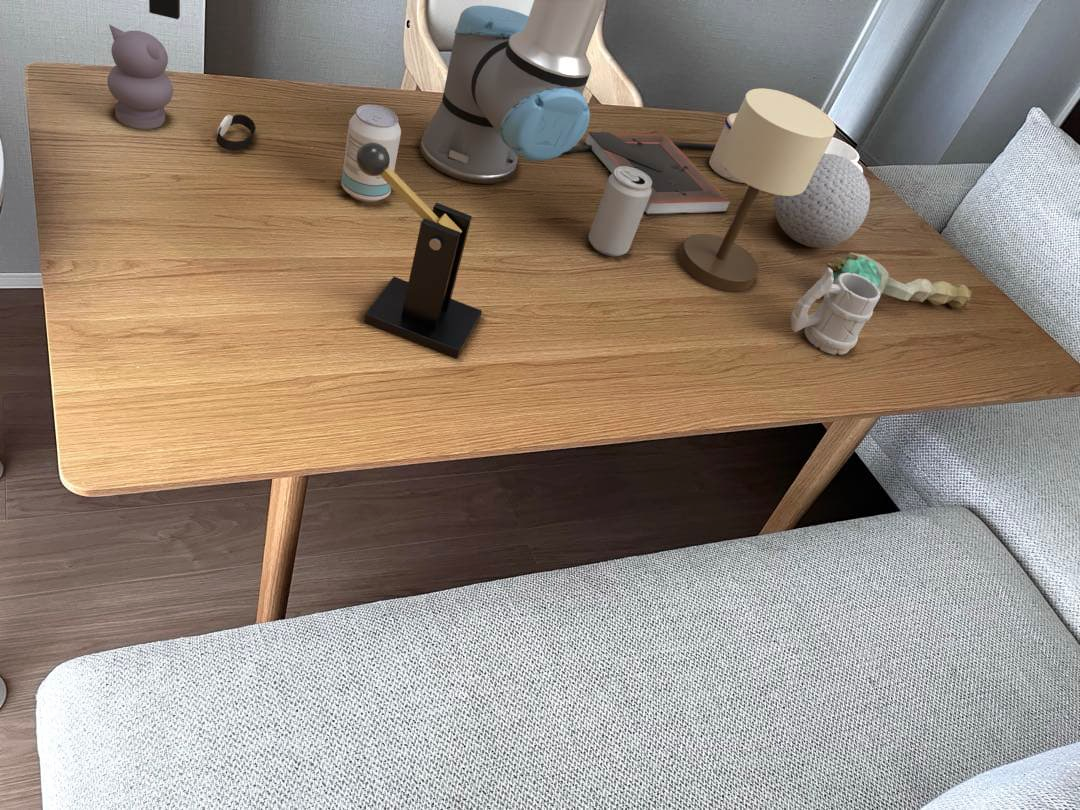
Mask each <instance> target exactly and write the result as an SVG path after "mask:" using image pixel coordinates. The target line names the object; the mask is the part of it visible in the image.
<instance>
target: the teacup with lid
mask: <svg viewBox="0 0 1080 810" xmlns="http://www.w3.org/2000/svg"><path fill="white" fill-rule="evenodd" d="M737 114H738V112H733V113H731V114H729V115H728V116H727V117H726V118H725V121H724V126H723V128H722V130H721V133H720V135H719V137H718V140H717V142H716V144H715V145H716V146H715V149H713V151H712V153H711V155H710V158H709V161H708V163H709V166H710V168H711V170H712V171H714V172H715V174H717V175H719V176H720V177H722V178H724V179H726V180H728V181H731V182H734V183H741V184H745V183H744V182H742V181H741V180H739V179H738V178H736V177H735V176H734V175H732V174H731V173H730V172H729V171H728V170H727V169H726V168H725V167H724V165H723V164H722V162H721V160H720V152H721V150H722V148H723V145H724V143H725V141H726V139H727V136H728V134H729V132H730V129H731V127H732V125H733V123H734V120H735V118H736V116H737Z"/></svg>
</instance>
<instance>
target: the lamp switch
mask: <svg viewBox="0 0 1080 810" xmlns="http://www.w3.org/2000/svg"><path fill="white" fill-rule="evenodd" d="M356 160H357V165H358V167H359V168H360V170H361V171H362V172H363V173H365V174H366V175H369V176H379V175H380V176H381V177H382V178H383V179H384V180H385V181H386V182H387V183H388V184H389V185H390V186H391V189H392V190H393V191H394V192H395V193H396V194H397V195H398V196H399V197H400V198H401V199H402V200H403V201H404V202H405V203H406V204H407V205H408V206H409V207H410V209H412V211H414V212H415V213H416V214H417V216H419V217H420V218H421V219H422V220H423V219H424V218H425V219H427V220H430V221H433V222H435V223H438V224H440V225H443V226H446V227H448V228H451V229H453V230H456V231H458V232H462V230H461V229H460V228H459V227H458V226H457V225H456V224H455V223H454V222H453V221H452V220H451V219H450V218H449V217H448V216H447V215H446V214H444V215H443V216H441V217H440V218H438V217H437V216H436V215H435V214H434V213H433V212H432V211H433V210H432V209H431V208H430V207H428V204H426V203H425V202H424V201H423V200H422V199H421V198H420V197H419V196H418V194H416V193H415V191H413V190H412V189H411V188H410V187H409V185H407V184H406V182H405V181H404V180H403V179H402V178H401V177H400V176H399V174H397V173H396V172H395V170H394V171H393V170H392V169H391V168H390V167H389V163H390V158H389V154H388V152H387V150H386V149H385V148H384V147H383V146H382V145H380V144H378V143H374V142H370V143H367V144H364V145H363V146H362V147H361V148H360V149H359V151H358V153H357V157H356Z"/></svg>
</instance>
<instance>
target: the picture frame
mask: <svg viewBox="0 0 1080 810" xmlns="http://www.w3.org/2000/svg"><path fill="white" fill-rule="evenodd" d="M673 142H674V141H672V140H671V139H670V138H669V137H668V136H667V135H666V134H664V133H624V132H623V133H622V132H621V133H620V132H619V133H617V132H616V133H615V132H608V131H588V133H587V135H586V139H585V141H584V143H585V145H590V144H591V145H592V150H591V151H592V152H593V154H594V155H595V156H596V157H597V158H598V159H599V161H600V162H601V163H602V164H603V165H604V167H605V168H606V169H607V170H608V171H609V172H610V174H612V173H614V170H615V169H616V168H617V167H620V166H628V167H632V168H636V169H638V170H640V171H642V172H644V173H646V174H647V175H648V176H649V177H650V178H651V180H652V185H651V190H652V192H651V195H650V197H649V200H648V202H647V205H646V208H645V210H644V214H646V215H666V214H667V215H670V214H671V215H673V214H698V213H699V214H704V213H707V214H708V213H724V212H726V211H727V209H728V207H729V205H730V203H731V200H729V199H728V198H727V197H726V195H724V193H723V192H722V191H720V189H718V187H717V186H716V185H715V184H714V183H713V182H712V181H711V180H710V179H709V178H708V177H707V176H706V175H705V174H704V173H703V172H702V171H701V169H699V168H698V166H696V165H695V163H693V162H692V161H691V160H690V159H689V158H688V156H687V155H686V154H684V153H683V151H682V150H681V149H680V148H679V147H677V146H676V145H675V144H674V143H673Z"/></svg>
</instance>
